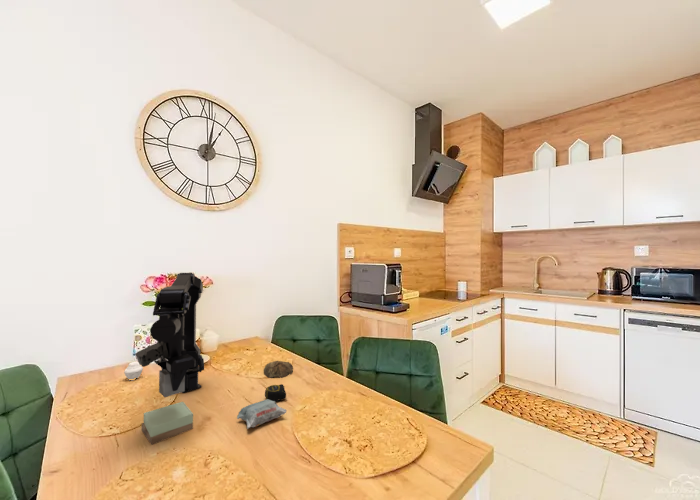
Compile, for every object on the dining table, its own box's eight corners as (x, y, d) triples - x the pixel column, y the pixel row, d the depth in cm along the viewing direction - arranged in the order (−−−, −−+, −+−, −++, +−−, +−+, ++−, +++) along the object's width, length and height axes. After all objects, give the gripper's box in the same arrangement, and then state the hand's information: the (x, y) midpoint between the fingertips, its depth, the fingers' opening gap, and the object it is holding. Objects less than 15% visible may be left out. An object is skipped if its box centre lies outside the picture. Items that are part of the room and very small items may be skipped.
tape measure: (286, 402, 100) (286, 390, 100) (265, 405, 98) (265, 393, 98) (284, 393, 106) (284, 382, 106) (264, 395, 104) (264, 385, 104)
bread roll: (264, 368, 130) (264, 357, 130) (292, 366, 133) (292, 355, 133) (262, 380, 118) (262, 367, 118) (294, 377, 121) (294, 365, 121)
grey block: (158, 392, 84) (159, 370, 85) (178, 386, 88) (178, 365, 88) (164, 397, 81) (165, 375, 81) (184, 391, 85) (184, 369, 85)
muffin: (121, 380, 118) (121, 362, 118) (138, 374, 123) (138, 357, 123) (128, 383, 115) (128, 365, 115) (145, 377, 120) (146, 360, 120)
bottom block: (141, 432, 83) (141, 423, 83) (180, 418, 91) (180, 410, 91) (151, 447, 76) (151, 437, 77) (192, 431, 84) (192, 422, 84)
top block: (143, 422, 84) (143, 413, 84) (182, 409, 91) (182, 401, 91) (150, 437, 77) (151, 427, 77) (192, 422, 84) (193, 413, 84)
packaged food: (286, 419, 88) (286, 402, 89) (247, 435, 81) (247, 416, 81) (273, 409, 95) (273, 393, 95) (235, 422, 87) (235, 405, 87)
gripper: (130, 332, 85) (129, 387, 85) (149, 344, 73) (148, 409, 72) (173, 326, 94) (172, 376, 93) (196, 335, 81) (196, 393, 81)
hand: (171, 388), depth 84 cm, fingers closed on grey block, 5 cm apart
